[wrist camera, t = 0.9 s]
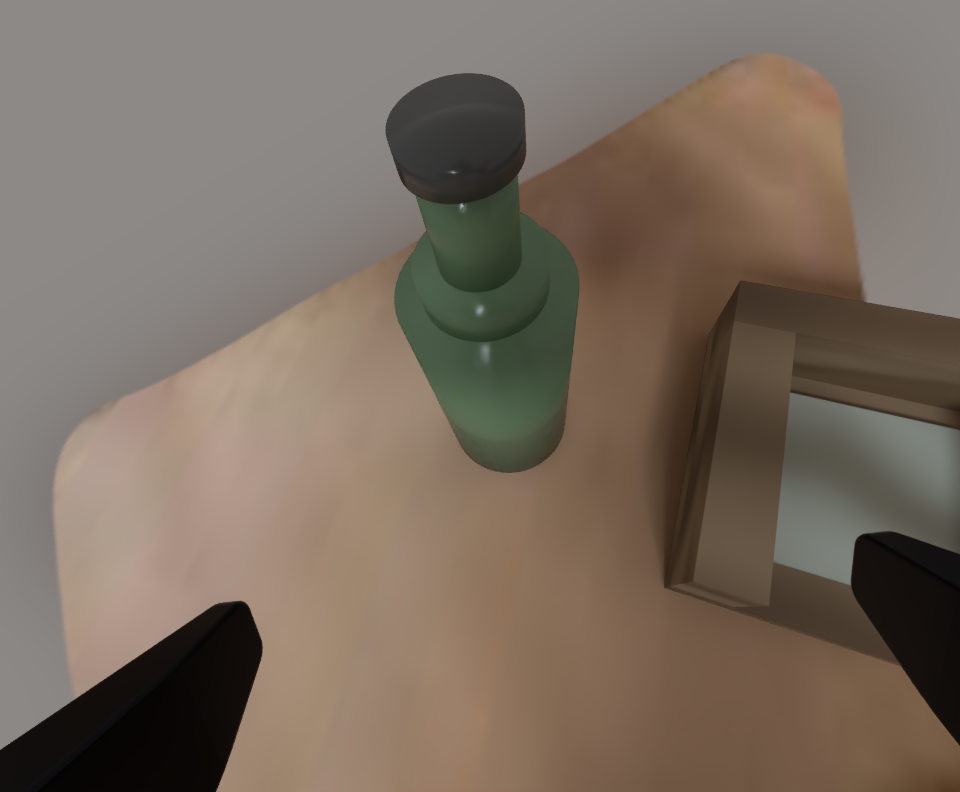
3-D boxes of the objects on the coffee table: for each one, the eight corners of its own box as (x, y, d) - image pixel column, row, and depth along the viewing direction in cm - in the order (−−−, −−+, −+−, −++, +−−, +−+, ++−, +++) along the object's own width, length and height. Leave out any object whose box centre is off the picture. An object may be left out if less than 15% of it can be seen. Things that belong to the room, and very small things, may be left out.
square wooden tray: (1039, 712, 16) (1188, 742, 12) (664, 587, 18) (692, 581, 15) (1010, 394, 20) (1113, 345, 16) (709, 333, 23) (740, 280, 19)
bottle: (552, 484, 21) (567, 243, 7) (441, 458, 22) (273, 208, 8) (574, 380, 23) (619, 36, 9) (471, 361, 24) (374, 30, 10)
